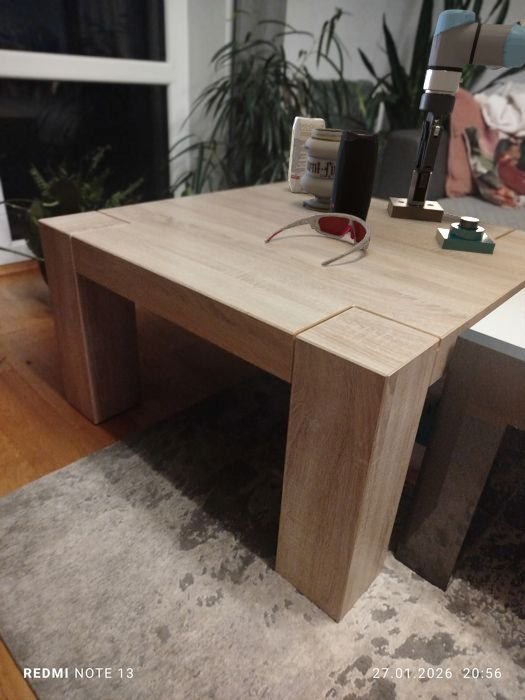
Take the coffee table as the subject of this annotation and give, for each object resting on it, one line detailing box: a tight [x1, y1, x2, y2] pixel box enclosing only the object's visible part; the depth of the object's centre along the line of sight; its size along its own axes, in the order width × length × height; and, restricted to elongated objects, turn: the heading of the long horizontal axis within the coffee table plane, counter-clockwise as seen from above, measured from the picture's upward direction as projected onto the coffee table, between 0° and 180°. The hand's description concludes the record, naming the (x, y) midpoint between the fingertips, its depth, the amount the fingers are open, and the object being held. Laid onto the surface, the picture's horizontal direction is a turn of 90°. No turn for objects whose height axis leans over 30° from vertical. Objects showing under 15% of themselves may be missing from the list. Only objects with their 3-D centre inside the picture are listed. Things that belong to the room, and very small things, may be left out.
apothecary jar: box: [300, 127, 344, 213], centre depth 122 cm, size 12×12×18 cm
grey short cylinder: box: [458, 216, 480, 230], centre depth 102 cm, size 4×4×2 cm
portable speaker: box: [329, 128, 381, 232], centre depth 107 cm, size 9×9×20 cm
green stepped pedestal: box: [434, 222, 496, 255], centre depth 103 cm, size 10×8×4 cm
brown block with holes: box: [386, 196, 445, 224], centre depth 125 cm, size 12×10×3 cm
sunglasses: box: [264, 212, 372, 267], centre depth 95 cm, size 17×17×5 cm
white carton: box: [287, 116, 326, 194], centre depth 138 cm, size 8×9×19 cm
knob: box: [406, 169, 433, 205], centre depth 122 cm, size 4×4×8 cm
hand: (416, 198), depth 124 cm, fingers closed on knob, 4 cm apart
